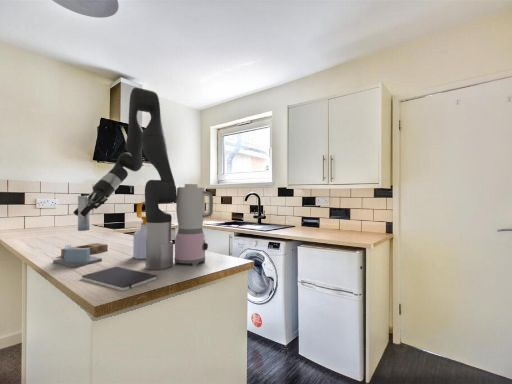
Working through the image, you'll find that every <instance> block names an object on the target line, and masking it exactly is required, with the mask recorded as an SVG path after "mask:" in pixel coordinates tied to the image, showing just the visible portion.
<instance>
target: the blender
mask: <svg viewBox="0 0 512 384" xmlns="http://www.w3.org/2000/svg"><path fill="white" fill-rule="evenodd" d="M198 186H199V185H198V184H197V183H184V187H183V186H182V187H180V186H179V187H176V192H177V195H176V200H175V201H176V205H175V206H176V207H175V209H176V210H175V211H176V219H177V224H178V226H177V227H178V229H177V233H176V235H175V239H174V257H173V261H174V264H175V265H176V264H178V263H179V264H191V265H192V267H195V266H198V265H199V263H200V262H206V251H207V250H208V248H209V245H208V243H207V242H206V236H205V233H204V231H203V230H204V229H203V224H204V219H205V218H209V217H211V216H212V215H213V211H214V210H213V209H214V197H213V194H212V193H211V192H209V191H205V187H198ZM206 197H208V212H205V210H206Z"/></svg>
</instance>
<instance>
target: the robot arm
mask: <svg viewBox="0 0 512 384" xmlns="http://www.w3.org/2000/svg"><path fill="white" fill-rule="evenodd" d="M139 111H140V112H144V113H148V114H149V115H150V120H149V122H148V124H147V126H146V127H145V128H144V129H143V128H142V126H141V125H140V121H139V118H138V112H139ZM161 112H162V111H161V101H160V97H159V95H158V93H157V92H156V91H153V90H149V89H147V88H146V89H144V88H143V87H142V88H141V87H135V86H134V87H133V88H132V89H131V92H130V96H129V106H128V127H127V128H128V129H127V134H126V135H127V136H126V141H125V145H124V146H125V147H124V149H125V150H126V151H127V152H126V151H125V152H122V153H120V155H119V156H118V159H117V161H116V162H115V163H114V165H113V167H112V168H111V170H109V171H108V172H107V173H106V174H105V175H103V176H102V177H101V178H100V179H99V180H98V181H97V182H95V184H94V185H93V186H92V190H93V191H92V192H90V193H89V194H86V193H85V194H84V195H83V196H90V200H89V204H88V205H87V206H88V207H87V206H86V207H85V208H84V209H83V210H82V211H81V212H80V214H81V215H82V216H86V215H87V214H88V213H89V214H90V213H91V211H93V210H94V209H95V210H97V209H98V208H99V207H101V206H102V205H103V204H104V203H106V202H107V201H108V198H109V197H110V196H111V195H112V194H113V193H114V192H115V191H116V190H117V189H118V188H119V186H120V185H121V184H122V182H124V181H125V180H126V179H127V177H128V176H129V173H128V171H127V170H126V169H128V170H130V171H132V172H138V171H140V170H141V168H142V166H143V155H144V156H145V158H146V159H147V160H148V162H149V163H150V164H151V165H152V166H153V168H155V170H156V172H157V173H158V176H159V178H160V179H149V180H147V181H146V183H145V185H144V202H145V204H144V207H145V209H144V210H145V211H144V213H145V216H146V259H145V268H146V269H148V270H161V271H162V270H164V269H167V268H170V267H171V268H172V267H173V266H174V241H173V240H172V214H171V213H170V212H169V213H168V212H165V211H163V210H161V209H160V208H159V206H160V205H165V204H166V205H167V204H173V203H175V201H176V199H177V187H176V182H175V179H174V175H173V172H172V168H171V165H170V161H169V154H168V148H167V143H166V137H165V133H164V132H165V131H164V128H163V122H162V114H161ZM72 213H73V214H74V215H75V216H77V217H78V207H77V208H76V209H75V210H74V211H73V212H72Z"/></svg>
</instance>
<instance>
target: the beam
mask: <svg viewBox="0 0 512 384" xmlns="http://www.w3.org/2000/svg"><path fill="white" fill-rule="evenodd" d="M108 247H109V246H108V244H105V243H99V242H95V243H89V244H82V245H78V246H71V248H90V255H94V254H98V253H103V252H108V251H109V250H108ZM60 256H61V257H64V248H61V251H60Z"/></svg>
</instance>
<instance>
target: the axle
mask: <svg viewBox="0 0 512 384" xmlns="http://www.w3.org/2000/svg"><path fill="white" fill-rule="evenodd" d="M89 200H90V196H88V195H87V196H84V195H78V196H77V208H78V216H77V231H78V232H85V231H90V212H89V213H88V214H87V215H86V216H82V215H81V214H80V212H81V211H82V210H83V209H84V208H85V207H86V206H87V205H88V204H89ZM87 207H88V206H87Z"/></svg>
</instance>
